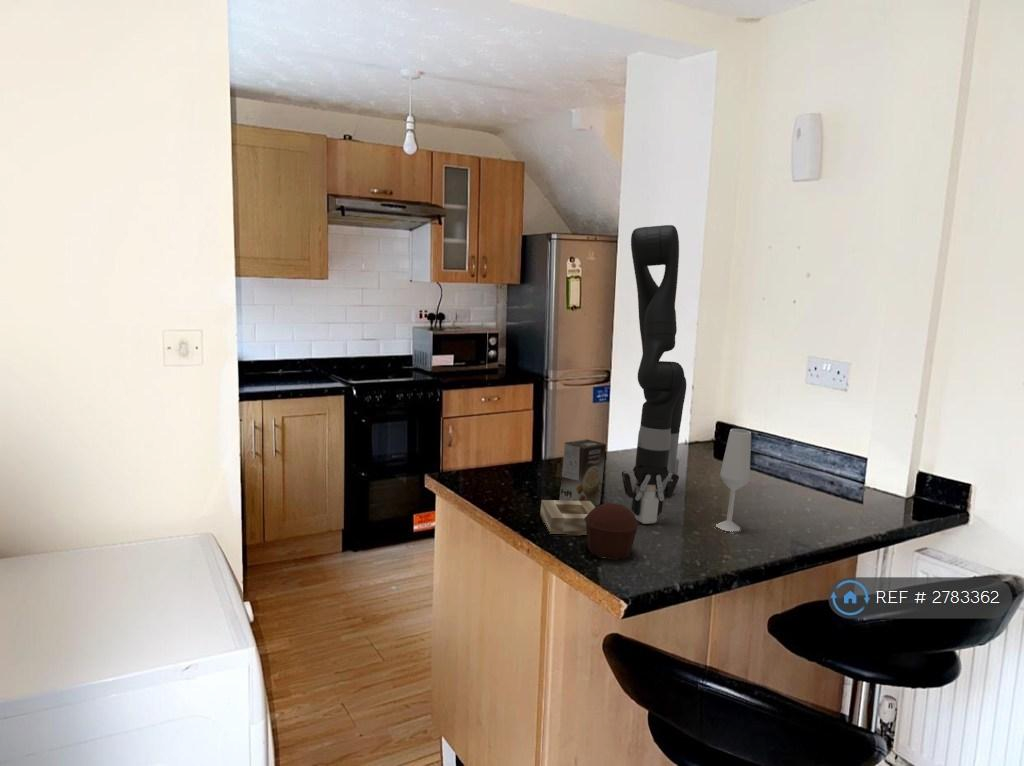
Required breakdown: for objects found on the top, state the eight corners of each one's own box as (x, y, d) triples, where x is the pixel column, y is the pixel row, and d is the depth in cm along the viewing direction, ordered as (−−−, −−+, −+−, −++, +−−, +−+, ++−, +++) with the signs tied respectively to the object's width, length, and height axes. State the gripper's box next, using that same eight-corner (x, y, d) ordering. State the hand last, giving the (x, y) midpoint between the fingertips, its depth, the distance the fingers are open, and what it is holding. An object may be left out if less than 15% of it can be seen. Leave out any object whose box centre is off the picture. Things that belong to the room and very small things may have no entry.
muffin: (605, 537, 156) (610, 494, 154) (646, 554, 148) (651, 509, 146) (570, 548, 148) (574, 503, 146) (611, 567, 140) (616, 519, 138)
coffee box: (577, 511, 171) (583, 448, 169) (558, 504, 176) (563, 442, 173) (600, 504, 178) (606, 443, 175) (581, 498, 182) (587, 438, 180)
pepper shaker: (643, 525, 165) (647, 486, 163) (633, 519, 168) (637, 481, 167) (657, 523, 166) (661, 485, 165) (647, 517, 170) (651, 480, 168)
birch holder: (588, 516, 168) (590, 501, 167) (602, 535, 156) (604, 518, 156) (540, 516, 166) (541, 499, 166) (550, 535, 154) (551, 517, 154)
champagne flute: (728, 522, 172) (740, 427, 168) (748, 531, 166) (761, 433, 162) (707, 524, 169) (719, 428, 165) (727, 534, 163) (740, 435, 159)
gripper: (676, 442, 169) (668, 509, 172) (619, 440, 167) (612, 508, 169) (688, 450, 162) (680, 520, 165) (629, 448, 159) (622, 519, 162)
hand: (646, 513), depth 167 cm, fingers closed on pepper shaker, 4 cm apart
